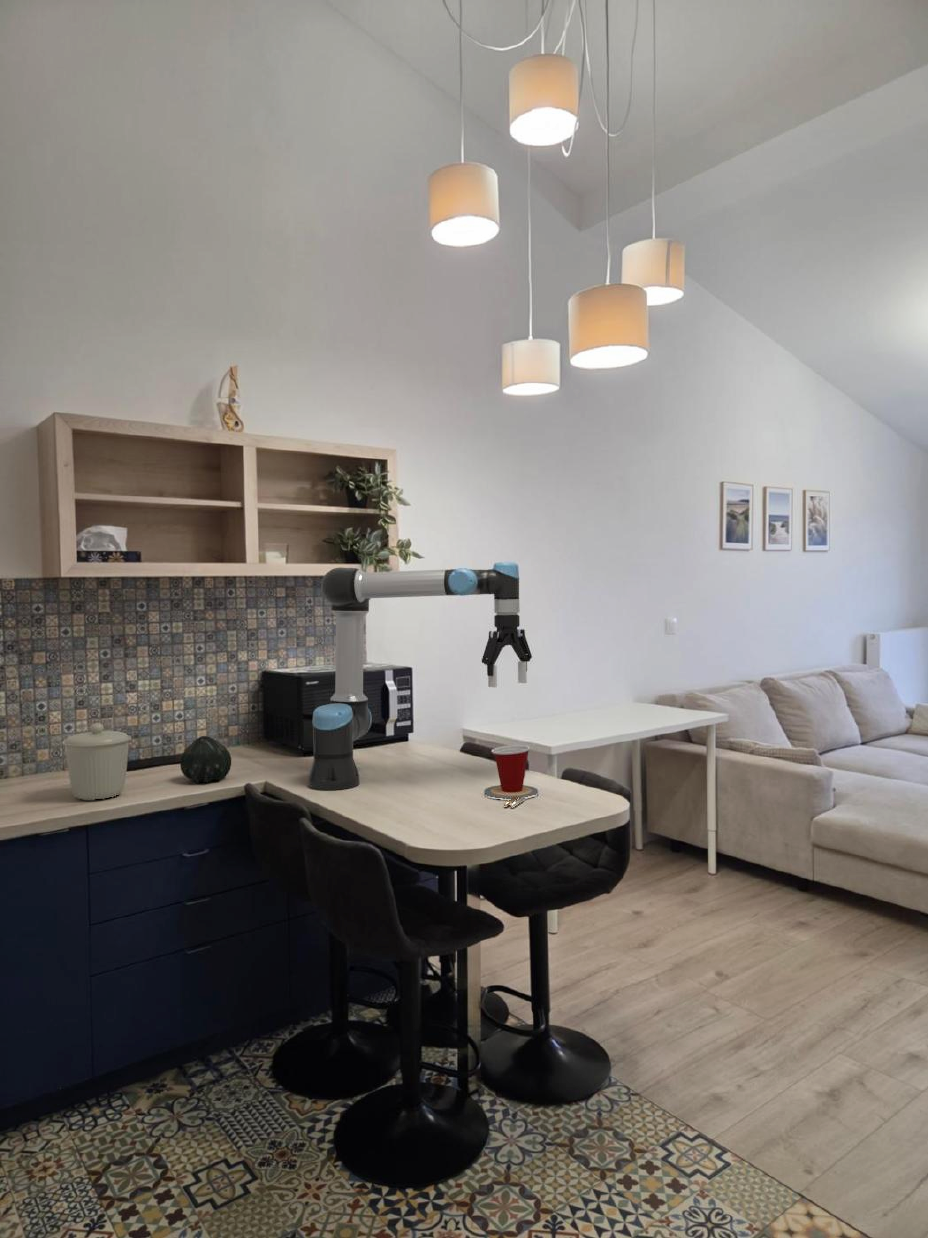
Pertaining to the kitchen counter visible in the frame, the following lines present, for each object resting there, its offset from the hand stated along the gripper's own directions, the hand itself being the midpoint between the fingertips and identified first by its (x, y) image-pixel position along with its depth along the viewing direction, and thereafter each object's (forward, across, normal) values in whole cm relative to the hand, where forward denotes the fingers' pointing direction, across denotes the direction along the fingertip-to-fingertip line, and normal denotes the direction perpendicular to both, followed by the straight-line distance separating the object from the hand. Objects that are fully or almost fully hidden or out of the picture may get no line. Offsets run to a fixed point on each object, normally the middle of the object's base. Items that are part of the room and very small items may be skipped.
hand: (507, 685), depth 254 cm
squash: (+29, +60, -71) cm, 97 cm away
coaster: (+29, +13, +12) cm, 34 cm away
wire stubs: (+29, +21, +20) cm, 41 cm away
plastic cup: (+28, +13, +12) cm, 33 cm away
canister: (+29, +91, -76) cm, 122 cm away
